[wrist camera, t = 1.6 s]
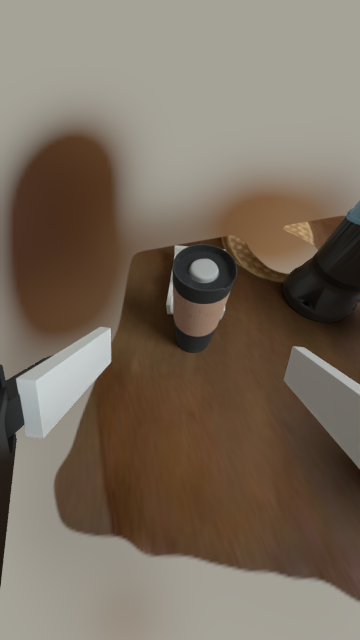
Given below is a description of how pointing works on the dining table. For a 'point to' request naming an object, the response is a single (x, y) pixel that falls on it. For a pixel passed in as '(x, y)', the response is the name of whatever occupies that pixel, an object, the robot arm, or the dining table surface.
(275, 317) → the dining table surface
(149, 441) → the dining table surface
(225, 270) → the travel mug
